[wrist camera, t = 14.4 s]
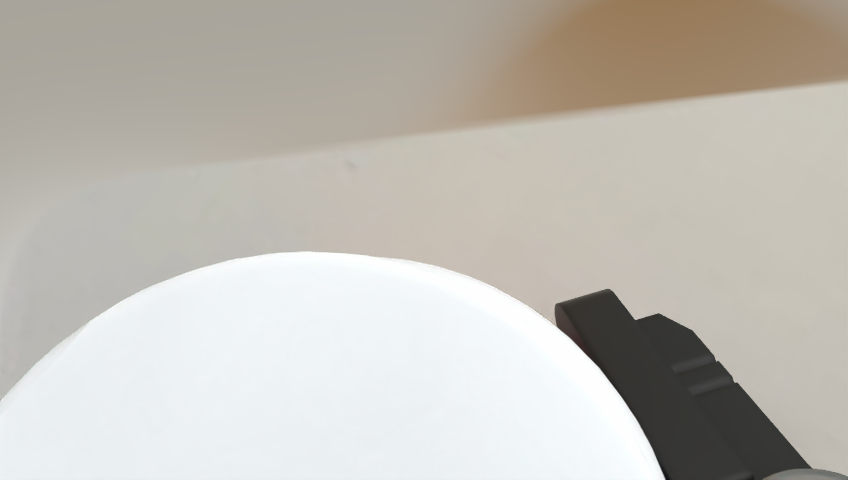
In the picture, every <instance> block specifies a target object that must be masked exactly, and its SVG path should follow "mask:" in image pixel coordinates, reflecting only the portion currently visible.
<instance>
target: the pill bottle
mask: <svg viewBox="0 0 848 480" xmlns="http://www.w3.org/2000/svg"><path fill="white" fill-rule="evenodd" d="M0 480H665V478H664V475H663V473H662V471H661V468H660V466H659V463H658V461H657V459H656V456H655V454H654V452H653V449H652V447H651V445H650V444H649V442H648V440H647V438H646V436H645V434H644V432H643V431H642V429H641V427H640V425H639V423H638V421H637V420H636V418H635V417H634V415H633V414H632V412H631V411H630V409H629V408H628V406H627V405H626V403H625V402H624V400H623V399H622V397H621V396H620V395H619V393H618V392H617V391H616V389H615V388H614V387H613V385H612V384H611V383H610V382H609V380H608V379H607V378H606V376H605V375H604V374H603V372H602V371H601V370H600V368H599V367H598V366H597V365H596V364H595V363H594V362H593V361H592V360H591V359H590V358H589V357H588V356H587V355H586V354H585V353H584V352H583V351H582V350H581V349H580V348H579V347H578V346H577V345H576V344H575V343H574V342H573V341H572V340H571V339H570V338H569V337H568V336H567V335H566V334H564V333H563V332H562V331H561V330H560V329H558V328H557V327H556V326H555V325H553V324H552V323H551V322H549V321H548V320H546V319H545V318H544V317H542V316H541V315H540V314H538V313H537V312H536V311H534V310H533V309H531V308H530V307H528V306H527V305H525V304H524V303H522V302H520V301H518V300H516V299H515V298H513V297H511V296H509V295H507V294H506V293H504V292H502V291H500V290H498V289H496V288H495V287H492V286H490V285H488V284H486V283H483V282H481V281H479V280H477V279H474V278H472V277H470V276H466V275H463V274H460V273H457V272H454V271H451V270H448V269H445V268H441V267H438V266H435V265H430V264H425V263H420V262H415V261H410V260H403V259H393V258H383V257H372V256H365V255H358V254H343V253H325V252H287V253H271V254H265V255H259V256H253V257H247V258H239V259H232V260H228V261H224V262H221V263H217V264H213V265H210V266H206V267H203V268H199V269H196V270H193V271H190V272H187V273H184V274H181V275H178V276H176V277H173V278H170V279H168V280H165V281H163V282H160V283H158V284H155V285H153V286H150V287H148V288H145V289H143V290H142V291H140V292H138V293H136V294H134V295H132V296H130V297H128V298H126V299H125V300H123V301H121V302H119V303H118V304H116V305H114V306H113V307H111V308H110V309H108V310H107V311H105V312H103V313H102V314H100V315H99V316H97V317H95V318H94V319H92V320H91V321H89V322H88V323H86V324H85V325H84V326H82V327H81V328H80V329H78V330H77V331H75V332H74V333H73V334H71V335H70V336H68V337H67V338H66V339H64V340H63V341H62V342H60V343H59V344H57V345H56V346H55V347H54V348H53V349H52V350H50V351H49V352H48V353H47V354H46V355H45V356H44V357H43V358H41V359H40V360H39V361H38V362H37V363H36V364H35V365H34V366H33V367H32V368H31V369H30V370H29V371H28V372H27V373H26V374H25V375H24V376H23V377H22V378H21V379H20V380H19V381H18V382H17V383H16V384H15V385H14V386H13V388H12V389H11V390H10V391H9V392H8V393H7V394H6V395H5V397H4V398H3V399H2V400H1V401H0Z"/></svg>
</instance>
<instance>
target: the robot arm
mask: <svg viewBox="0 0 848 480" xmlns="http://www.w3.org/2000/svg"><path fill="white" fill-rule="evenodd" d="M555 319H556V325H557V328H558V329H560V330H561V331H562V332H563V333H564V334H566V335H567V336H568V337H569V338H570V339H571V340H572V341H573V342H574V343H575V344H576V345H577V346H578V347H579V348H580V349H581V350H582V351H583V352H584V353H585V354H586V355H587V356H588V357H589V358H590V359H591V360H592V361H593V362H594V363H595V364H596V365H597V366H598V367H599V368H600V370H601V371H602V372H603V374H604V375H605V376H606V378H607V379H608V380H609V382H610V383H611V384H612V385H613V387H614V388H615V389H616V391H617V392H618V393H619V395H620V396H621V397H622V399H623V400H624V402H625V403H626V405H627V406H628V408H629V409H630V411H631V412H632V414H633V415H634V417H635V418H636V420H637V421H638V423H639V425H640V427H641V429H642V431H643V432H644V434H645V436H646V438H647V440H648V442H649V444H650V445H651V447H652V449H653V452H654V454H655V456H656V459H657V461H658V463H659V466H660V468H661V471H662V473H663V475H664V478H665V480H848V477H847V476H845V475H842V474H839V473H835V472H831V471H826V470H819V469H812V468H811V467H810V466H809V465H808V464H807V463H806V461H805V460H804V459H803V458H802V457H801V456H800V454H799V453H798V452H797V451H796V450H795V449H794V448H793V446H792V445H791V444H790V443H789V442H788V441H787V439H786V438H785V437H784V436H783V435H782V434H781V432H780V431H779V430H778V429H777V428H776V427H775V426H774V424H773V423H772V422H771V421H770V420H769V419H768V417H767V416H766V415H765V414H764V413H763V412H762V411H761V409H760V408H759V407H758V406H757V405H756V404H755V402H754V401H753V400H752V399H751V398H750V397H749V395H748V394H747V393H746V392H745V391H744V390H743V389H742V387H741V386H740V385H739V384H738V383H734V381H733V377H732V376H731V375H730V374H729V372H728V371H727V370H726V369H725V368H724V367H723V365H722V364H721V363H720V362H719V361H717V362H716V360H715V357H714V355H713V354H712V353H711V352H710V350H709V349H708V348H707V347H706V346H705V345H704V343H703V342H702V341H701V340H700V339H699V338H698V337H697V335H696V334H695V333H694V332H693V331H692V330H690V329H688V328H686V327H684V326H682V325H680V324H679V323H677V322H675V321H673V320H671V319H669V318H667V317H665V316H663V315H661V314H659V313H658V314H655V315H652V316H648V317H645V318H641V319H638V320H635V319H634V318H633V317H632V316H631V314H630V313H629V312H628V310H627V309H626V308H625V306H624V305H623V304H622V303H621V301H620V300H619V299H618V297H617V296H616V295H615V294H614V292H613V291H611V290H610V289H605V290H602V291H598V292H595V293H592V294H588V295H585V296H581V297H578V298H575V299H571V300H568V301H564V302H561V303H557V304H556V305H555Z"/></svg>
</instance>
